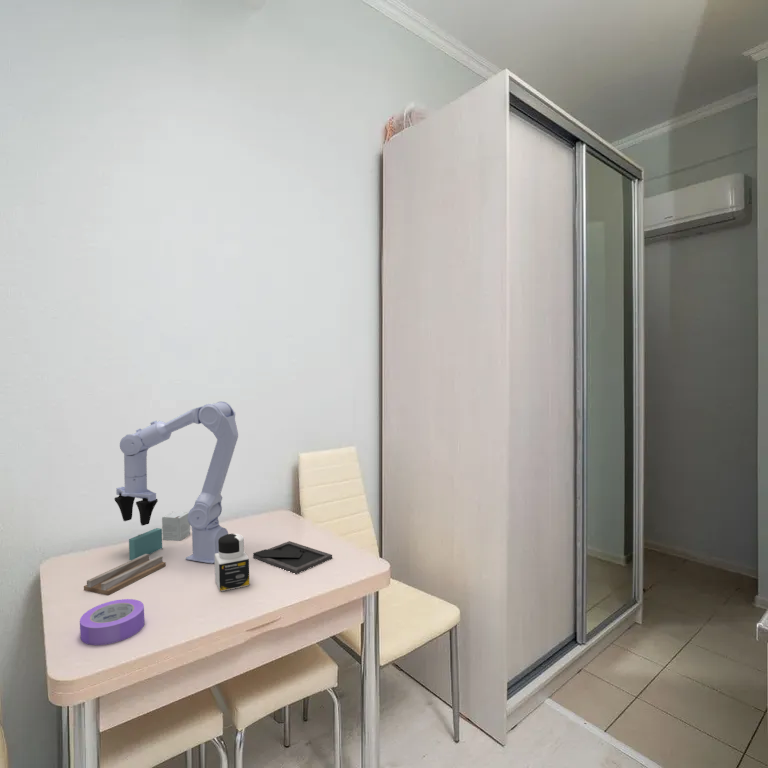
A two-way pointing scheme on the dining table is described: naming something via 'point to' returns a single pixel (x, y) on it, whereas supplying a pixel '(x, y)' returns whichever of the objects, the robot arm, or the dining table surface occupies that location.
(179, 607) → the dining table surface
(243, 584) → the medicine bottle
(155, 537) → the door panel
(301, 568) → the picture frame
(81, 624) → the masking tape
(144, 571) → the door track
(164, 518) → the skincare box
